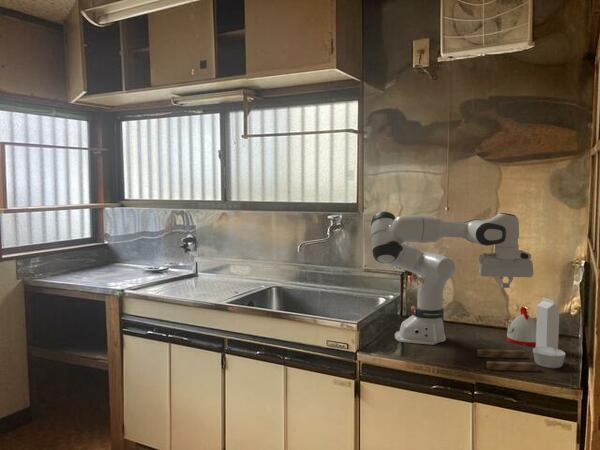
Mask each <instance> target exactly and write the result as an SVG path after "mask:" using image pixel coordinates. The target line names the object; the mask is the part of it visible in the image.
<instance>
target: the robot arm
mask: <svg viewBox="0 0 600 450" xmlns="http://www.w3.org/2000/svg"><path fill="white" fill-rule="evenodd" d="M370 224H371V228H370V230H371V231H370V239H371V246H372V249H371V251H372V252H371V253H372V255H373V259H374V260H375V261H376V262H378V263H381V264H388V265H389V266H392V267H396V268H399V269H402V270H404V271H407V272H410V273H413V274H415V275H418V276H421V277H424V280H423V284H422V286H420V287H419V288H418V289H417V299H416V300H417V302H416V303H417V306H414V305H412V306H411V307H410V310H411V311H412V315H411V316H409V317H408V318H406V319H405V320H403V321H402V322H401V325H400V327H399V330H398V331H396V332H395V333H394V339H395V340H396V341H398V342H400V343H408V344H423V345H432V346H433V345H437V344H438V343H442V342H445V341H446V340H447V337H446V334H445V330H444V317H445V311H444V308H443V305H444V304H443V302H444V290H445V287H446V284H447V281H449V280H450V279H451V278H452V277H453V275H454V274H455V270H456V267H455V263H454V261H453V260H452V258H449V257H447V256H446V255H443V254H438V253H433V252H427V251H424V250H422V249H419V248H417V247H416V246H415V245H411V244H409V242H410V243H418V244H420V243H421V244H429V243H436V242H439V240H440V239H441V238H462V239H465V240H466V241H468V242H471V243H474V244H478V245H481V246H485V247H487V246H489V247H490V246H494V253H493V252H492V253H490V252H489V253H487V252H484V253H481V254H480V255H479V259H478V260H479V267H478V274H479V275H480V276H482V277H490V278H491V277H497V278H498V281H499V282H500V288H502V289H510V288H511V283H512V282H513V280H514V278H532V277H533V276H534V264H533V261H532V260H531V259H532V254H531V253H529V252H526V251H523V250H521V249H519V248H520V247H519V237H520V223H519V218H518V216H517V215H515V214H512V213H506V212H498V213H497V214H496V215H494V216H493V217H491V218H488V219H485V220H483V219H479V218H473V219H470V220H467V221H464V222H461V221H460V222H459V221H445V220H442V219H440V218H439V217H435V216H433V215H432V216H431V215H426V214H425V215H424V214H404V215H399V216H395V215H394V214H393V213H392V212H388V211H378V212H377V213H375V214H373V216H372V218H371V222H370ZM406 242H407V243H406ZM505 277H506V278H507V279H508V280H507V282H504V281H503V280H504V278H505Z"/></svg>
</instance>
